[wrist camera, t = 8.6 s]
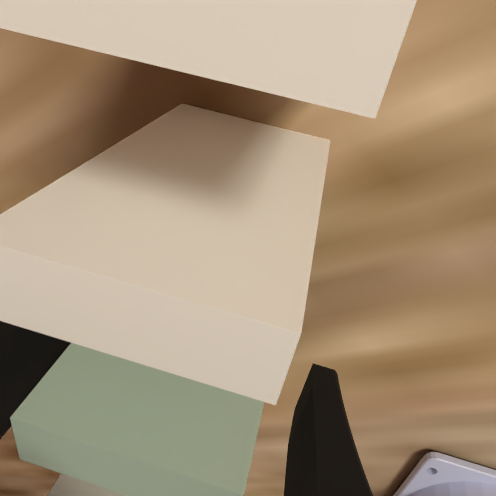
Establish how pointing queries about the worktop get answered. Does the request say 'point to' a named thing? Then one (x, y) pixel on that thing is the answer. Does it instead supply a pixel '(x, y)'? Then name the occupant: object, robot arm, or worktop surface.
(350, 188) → the worktop surface
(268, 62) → the domino
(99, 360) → the domino
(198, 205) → the domino
